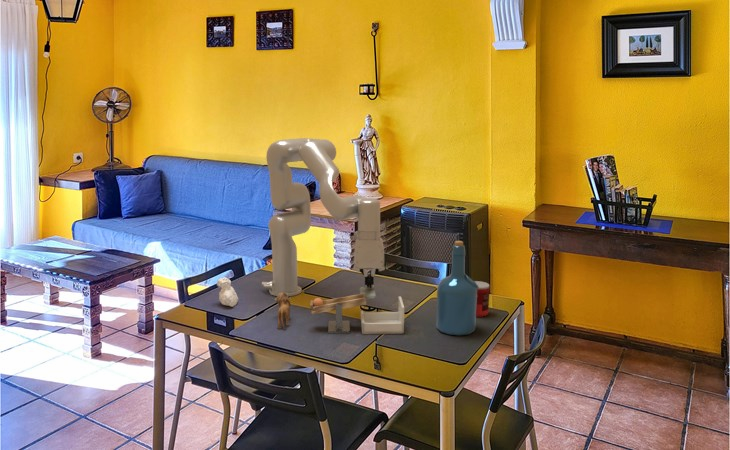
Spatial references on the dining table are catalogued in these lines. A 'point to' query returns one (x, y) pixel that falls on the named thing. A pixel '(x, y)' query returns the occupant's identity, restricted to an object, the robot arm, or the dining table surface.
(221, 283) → the duck figurine
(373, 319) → the bin
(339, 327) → the fulcrum
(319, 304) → the ball
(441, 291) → the wine bottle
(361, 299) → the lever
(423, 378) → the dining table surface
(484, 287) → the canned food
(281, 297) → the lion figurine
